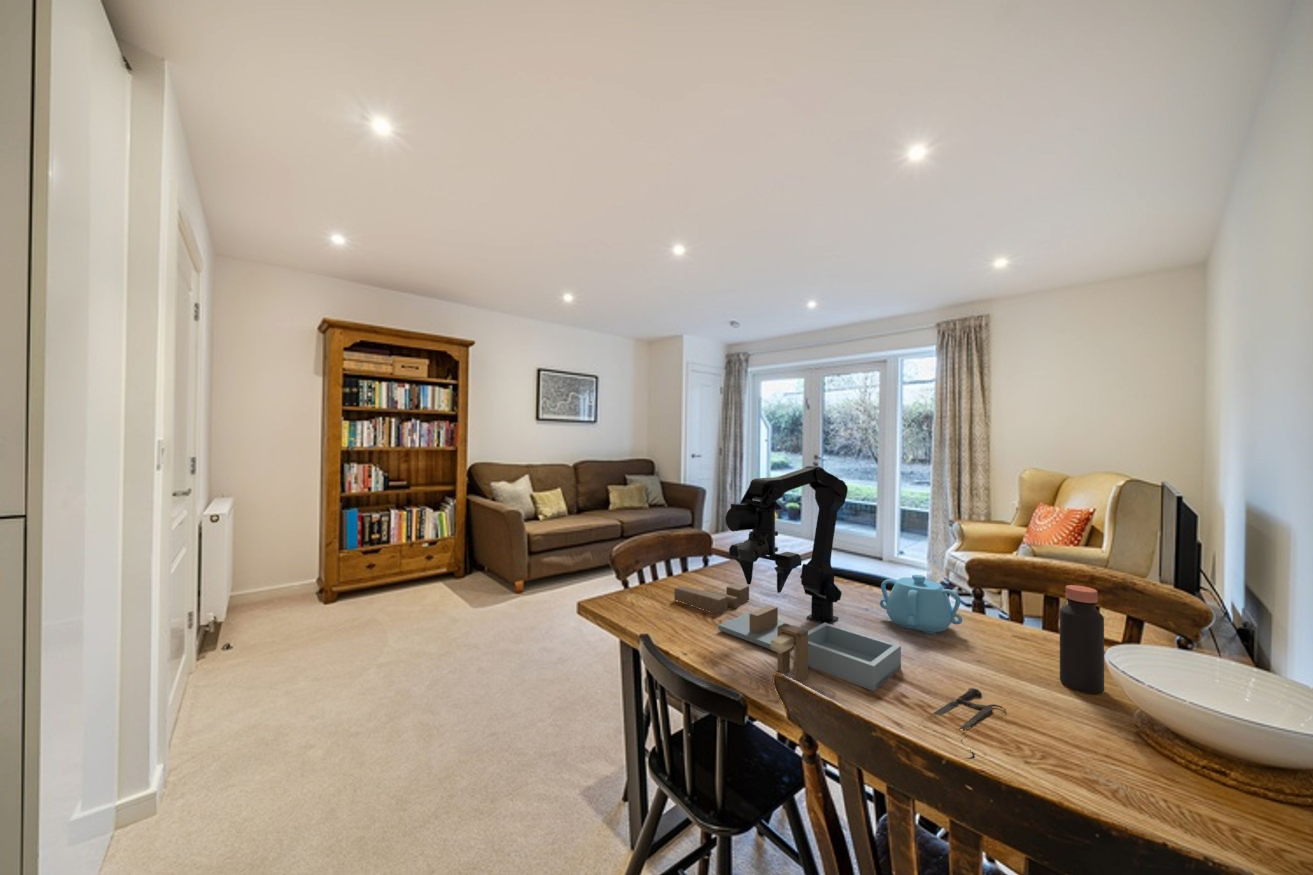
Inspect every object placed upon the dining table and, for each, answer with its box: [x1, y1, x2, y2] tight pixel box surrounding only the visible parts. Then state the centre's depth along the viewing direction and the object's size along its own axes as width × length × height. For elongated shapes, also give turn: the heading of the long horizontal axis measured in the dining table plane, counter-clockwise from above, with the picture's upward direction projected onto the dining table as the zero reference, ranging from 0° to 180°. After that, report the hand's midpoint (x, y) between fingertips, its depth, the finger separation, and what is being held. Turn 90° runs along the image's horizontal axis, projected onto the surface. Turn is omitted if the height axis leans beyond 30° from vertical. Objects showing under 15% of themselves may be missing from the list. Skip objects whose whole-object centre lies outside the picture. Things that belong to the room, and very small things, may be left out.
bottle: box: [1059, 584, 1105, 695], centre depth 97 cm, size 7×7×20 cm
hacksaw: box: [918, 687, 1007, 760], centre depth 85 cm, size 24×10×2 cm, turn 122°
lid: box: [717, 604, 810, 650], centre depth 123 cm, size 14×18×7 cm
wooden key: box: [770, 633, 795, 654], centre depth 102 cm, size 10×2×2 cm, turn 133°
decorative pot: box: [879, 574, 963, 635], centre depth 129 cm, size 16×16×14 cm
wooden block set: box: [673, 583, 750, 615], centre depth 149 cm, size 17×6×18 cm
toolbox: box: [776, 622, 902, 692], centre depth 105 cm, size 21×18×10 cm
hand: (763, 588), depth 123 cm, fingers open, 9 cm apart
